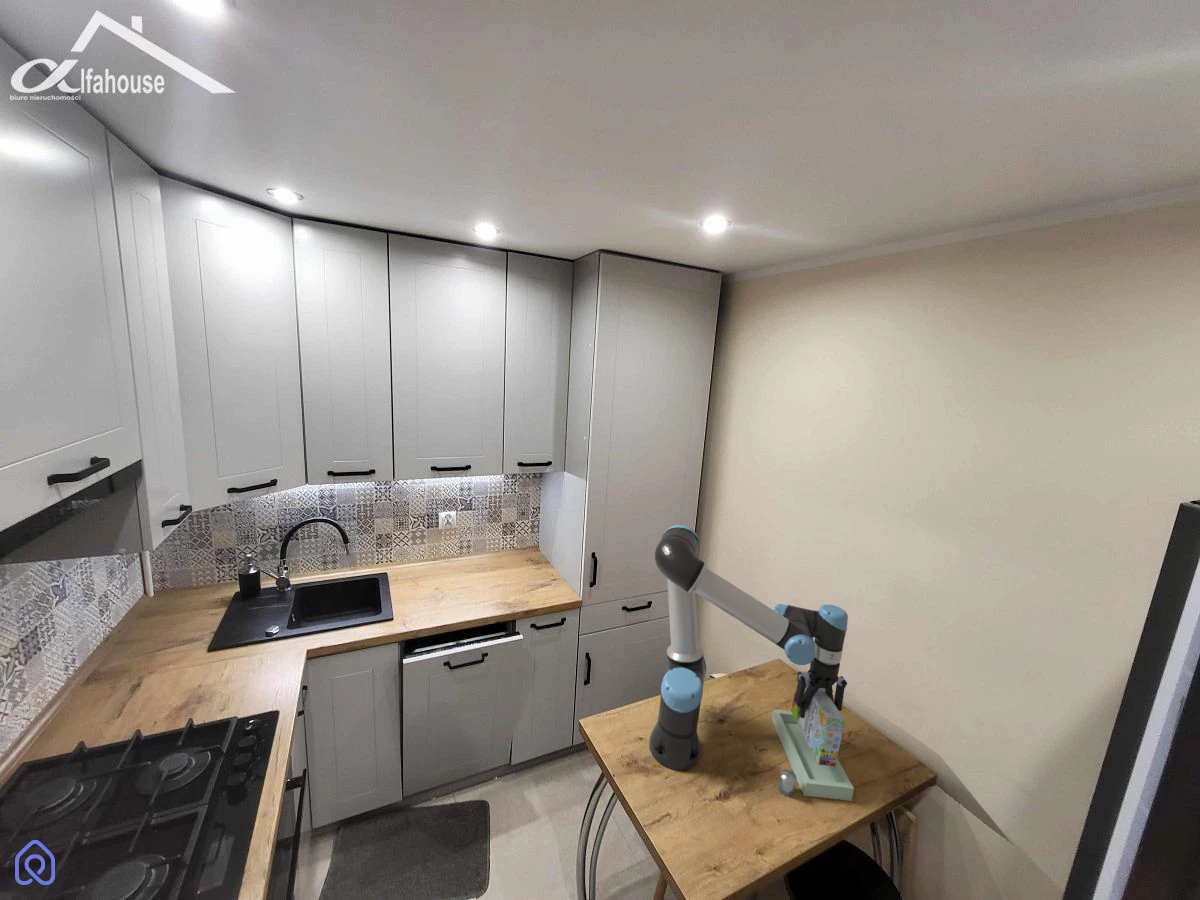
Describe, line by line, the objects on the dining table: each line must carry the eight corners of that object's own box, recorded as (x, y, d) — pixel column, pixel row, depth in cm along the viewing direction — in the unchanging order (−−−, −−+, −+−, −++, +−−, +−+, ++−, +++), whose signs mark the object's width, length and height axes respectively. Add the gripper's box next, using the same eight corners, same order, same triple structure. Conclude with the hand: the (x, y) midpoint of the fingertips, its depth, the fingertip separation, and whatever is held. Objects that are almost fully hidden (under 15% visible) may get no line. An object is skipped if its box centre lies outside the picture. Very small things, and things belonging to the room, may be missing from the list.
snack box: (837, 767, 130) (846, 720, 128) (817, 766, 130) (826, 718, 128) (806, 712, 151) (814, 670, 148) (789, 711, 151) (796, 669, 149)
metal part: (781, 796, 128) (783, 780, 127) (776, 783, 132) (779, 768, 131) (795, 797, 127) (798, 782, 127) (790, 784, 131) (793, 769, 131)
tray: (803, 795, 128) (805, 783, 128) (771, 720, 156) (773, 709, 155) (851, 800, 128) (854, 788, 127) (811, 724, 155) (812, 713, 155)
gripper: (798, 662, 133) (786, 733, 137) (864, 669, 132) (850, 740, 136) (789, 647, 140) (778, 715, 144) (852, 653, 139) (839, 721, 143)
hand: (813, 727), depth 140 cm, fingers closed on snack box, 6 cm apart
